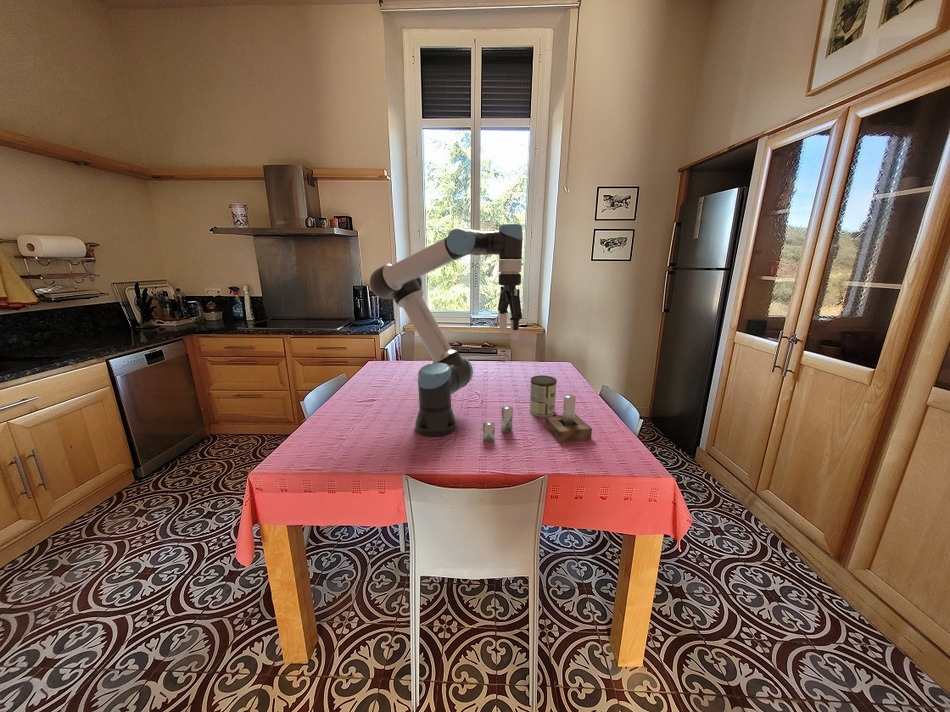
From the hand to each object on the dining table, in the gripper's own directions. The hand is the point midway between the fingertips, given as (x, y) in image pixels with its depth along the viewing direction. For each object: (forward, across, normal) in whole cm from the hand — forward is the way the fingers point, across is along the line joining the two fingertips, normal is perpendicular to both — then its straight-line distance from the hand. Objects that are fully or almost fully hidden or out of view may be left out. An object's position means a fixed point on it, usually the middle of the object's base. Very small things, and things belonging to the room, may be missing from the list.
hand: (508, 335), depth 124 cm
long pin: (+35, -10, -20) cm, 41 cm away
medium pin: (+35, -4, +1) cm, 35 cm away
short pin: (+35, -9, +9) cm, 37 cm away
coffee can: (+35, +9, -18) cm, 40 cm away
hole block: (+35, -10, -20) cm, 41 cm away
